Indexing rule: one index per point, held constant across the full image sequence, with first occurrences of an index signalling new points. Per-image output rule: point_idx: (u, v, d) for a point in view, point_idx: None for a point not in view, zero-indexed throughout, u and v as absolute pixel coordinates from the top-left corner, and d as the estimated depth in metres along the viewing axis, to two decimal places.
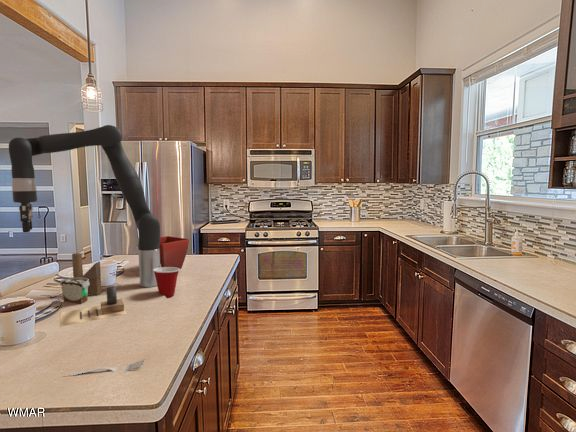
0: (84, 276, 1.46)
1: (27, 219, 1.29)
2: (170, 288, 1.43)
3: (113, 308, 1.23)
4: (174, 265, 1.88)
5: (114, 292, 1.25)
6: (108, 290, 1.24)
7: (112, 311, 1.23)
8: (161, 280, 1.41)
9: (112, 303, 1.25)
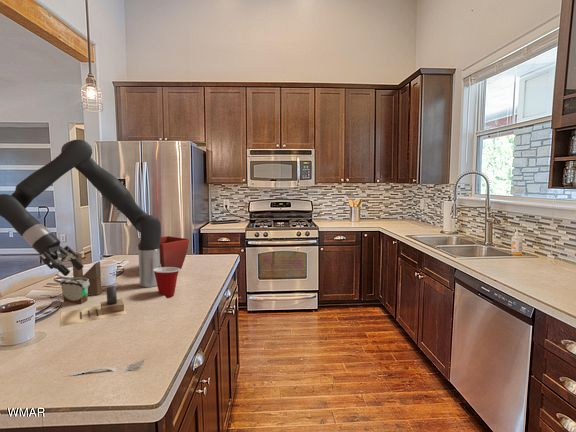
0: (84, 276, 1.46)
1: (53, 263, 1.17)
2: (170, 288, 1.43)
3: (113, 308, 1.23)
4: (174, 265, 1.88)
5: (114, 292, 1.25)
6: (108, 290, 1.24)
7: (112, 311, 1.23)
8: (161, 280, 1.41)
9: (112, 303, 1.25)
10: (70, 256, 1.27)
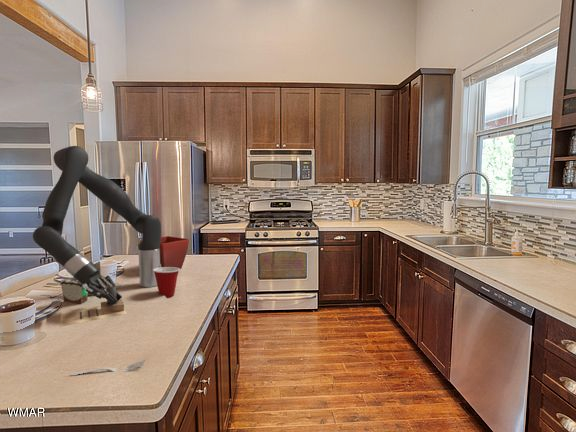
0: None
1: (102, 293, 1.21)
2: (170, 288, 1.43)
3: (113, 308, 1.23)
4: (174, 265, 1.88)
5: (114, 292, 1.25)
6: (108, 290, 1.24)
7: (112, 311, 1.23)
8: (161, 280, 1.41)
9: None
10: (108, 286, 1.27)
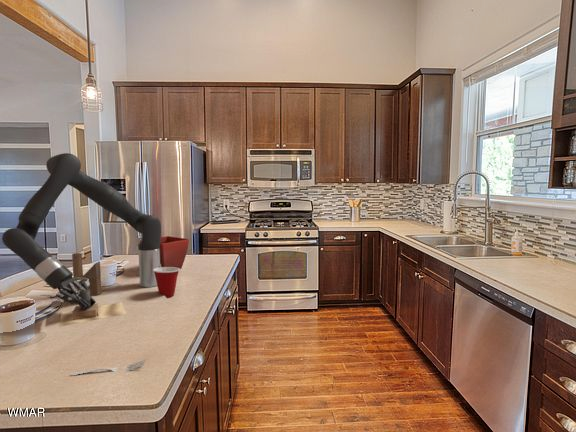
0: (84, 276, 1.46)
1: (73, 298, 1.16)
2: (170, 288, 1.43)
3: (84, 313, 1.18)
4: (174, 265, 1.88)
5: (87, 296, 1.20)
6: (80, 294, 1.19)
7: (83, 316, 1.18)
8: (161, 280, 1.41)
9: None
10: (81, 290, 1.22)
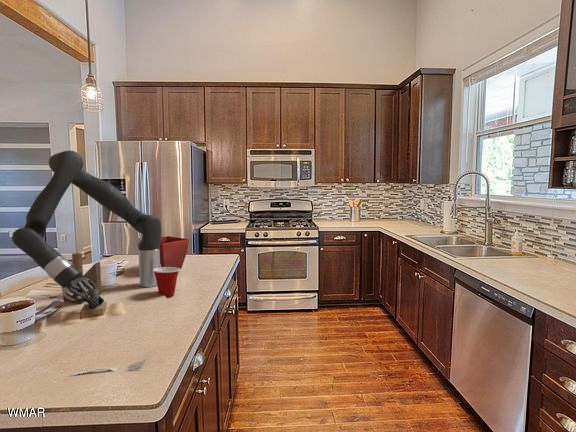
0: (84, 276, 1.46)
1: (83, 297, 1.18)
2: (170, 288, 1.43)
3: (92, 312, 1.20)
4: (174, 265, 1.88)
5: (95, 295, 1.21)
6: (89, 292, 1.21)
7: (91, 314, 1.20)
8: (161, 280, 1.41)
9: None
10: None
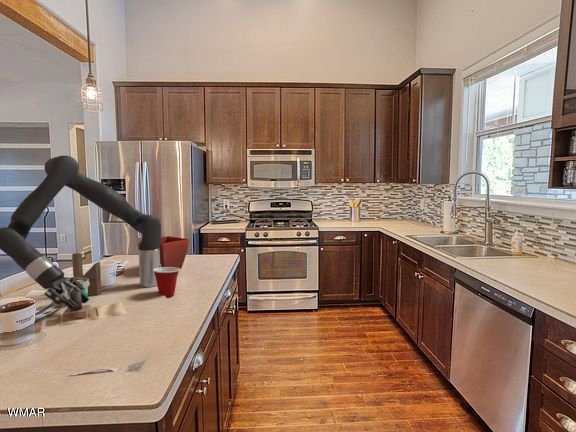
0: (84, 276, 1.46)
1: (60, 299, 1.13)
2: (170, 288, 1.43)
3: (74, 315, 1.17)
4: (174, 265, 1.88)
5: (77, 298, 1.19)
6: (71, 295, 1.18)
7: (73, 318, 1.17)
8: (161, 280, 1.41)
9: (75, 309, 1.18)
10: (75, 289, 1.22)
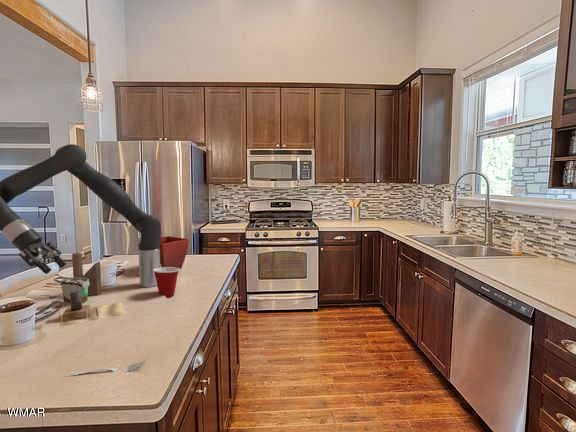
0: (84, 276, 1.46)
1: (33, 261, 1.13)
2: (170, 288, 1.43)
3: (74, 315, 1.17)
4: (174, 265, 1.88)
5: (77, 298, 1.19)
6: (71, 295, 1.18)
7: (73, 318, 1.17)
8: (161, 280, 1.41)
9: (75, 309, 1.18)
10: (52, 253, 1.23)
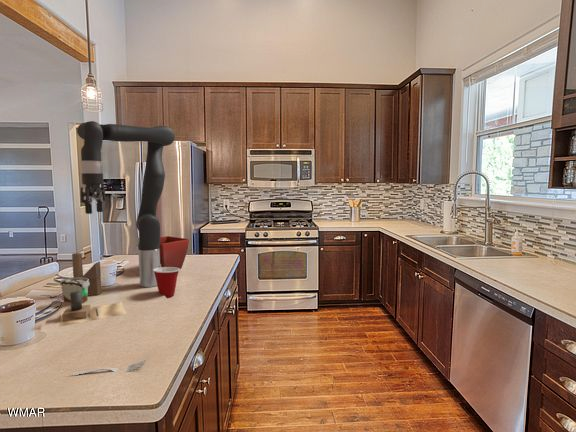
0: (84, 276, 1.46)
1: (86, 201, 1.31)
2: (170, 288, 1.43)
3: (74, 315, 1.17)
4: (174, 265, 1.88)
5: (77, 298, 1.19)
6: (71, 295, 1.18)
7: (73, 318, 1.17)
8: (161, 280, 1.41)
9: (75, 309, 1.18)
10: (100, 198, 1.41)
